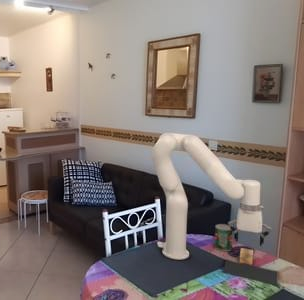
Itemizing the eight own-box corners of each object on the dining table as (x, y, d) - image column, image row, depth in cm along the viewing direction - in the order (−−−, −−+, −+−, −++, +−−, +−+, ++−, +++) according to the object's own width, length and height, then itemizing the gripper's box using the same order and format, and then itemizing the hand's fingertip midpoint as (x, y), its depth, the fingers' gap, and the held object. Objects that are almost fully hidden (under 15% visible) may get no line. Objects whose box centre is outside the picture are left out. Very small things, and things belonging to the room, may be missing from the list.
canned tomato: (234, 250, 159) (235, 230, 157) (218, 251, 159) (219, 230, 157) (226, 243, 167) (227, 223, 165) (211, 244, 167) (212, 224, 165)
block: (239, 262, 148) (240, 252, 147) (240, 257, 152) (241, 247, 151) (252, 264, 145) (252, 254, 145) (252, 260, 149) (253, 250, 149)
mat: (222, 272, 140) (222, 271, 140) (226, 260, 150) (226, 260, 150) (277, 285, 129) (277, 284, 129) (276, 271, 139) (277, 271, 139)
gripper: (272, 207, 143) (270, 243, 145) (229, 202, 153) (228, 236, 155) (272, 212, 137) (270, 249, 139) (227, 206, 146) (226, 242, 149)
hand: (248, 242), depth 147 cm, fingers open, 9 cm apart
